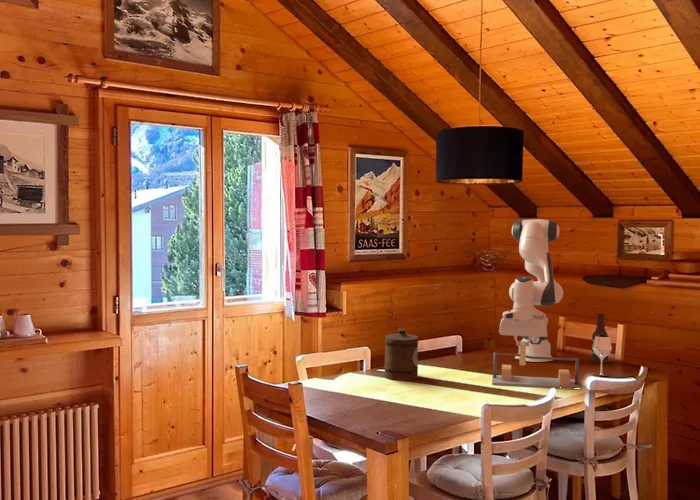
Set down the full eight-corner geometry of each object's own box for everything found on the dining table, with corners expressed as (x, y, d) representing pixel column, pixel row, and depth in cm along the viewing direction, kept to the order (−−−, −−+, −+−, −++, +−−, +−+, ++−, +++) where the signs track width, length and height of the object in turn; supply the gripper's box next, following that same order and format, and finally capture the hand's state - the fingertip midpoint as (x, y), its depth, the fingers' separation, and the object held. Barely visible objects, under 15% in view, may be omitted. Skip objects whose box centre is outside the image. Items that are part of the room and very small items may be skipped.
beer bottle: (587, 361, 350) (589, 312, 349) (599, 359, 353) (601, 312, 352) (599, 364, 343) (600, 315, 342) (611, 363, 346) (612, 314, 345)
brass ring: (519, 361, 312) (519, 341, 312) (524, 361, 312) (525, 341, 311) (519, 365, 304) (520, 344, 304) (525, 365, 304) (525, 344, 303)
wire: (495, 354, 312) (495, 352, 312) (576, 358, 305) (576, 356, 304) (495, 357, 307) (495, 355, 307) (577, 360, 300) (577, 359, 300)
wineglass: (590, 376, 319) (591, 336, 318) (593, 372, 326) (594, 333, 325) (609, 378, 315) (610, 338, 314) (612, 374, 322) (613, 335, 321)
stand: (492, 377, 317) (493, 350, 316) (576, 381, 309) (577, 354, 309) (492, 384, 303) (492, 357, 302) (580, 389, 296) (580, 361, 295)
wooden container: (422, 379, 312) (423, 329, 311) (391, 381, 308) (391, 331, 307) (410, 371, 326) (411, 324, 325) (380, 373, 322) (380, 325, 321)
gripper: (547, 314, 308) (547, 345, 309) (499, 312, 312) (499, 343, 313) (548, 316, 302) (548, 348, 302) (499, 314, 306) (498, 346, 307)
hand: (522, 346), depth 308 cm, fingers closed on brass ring, 2 cm apart
